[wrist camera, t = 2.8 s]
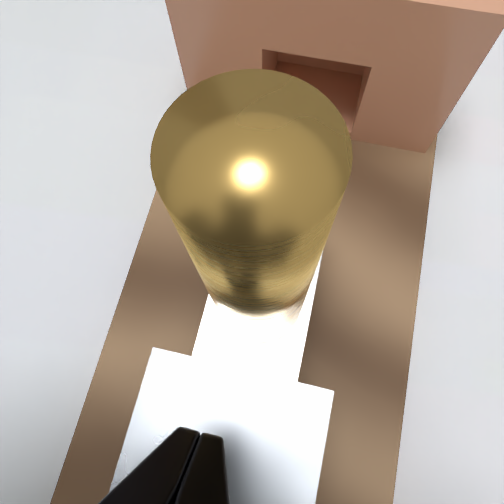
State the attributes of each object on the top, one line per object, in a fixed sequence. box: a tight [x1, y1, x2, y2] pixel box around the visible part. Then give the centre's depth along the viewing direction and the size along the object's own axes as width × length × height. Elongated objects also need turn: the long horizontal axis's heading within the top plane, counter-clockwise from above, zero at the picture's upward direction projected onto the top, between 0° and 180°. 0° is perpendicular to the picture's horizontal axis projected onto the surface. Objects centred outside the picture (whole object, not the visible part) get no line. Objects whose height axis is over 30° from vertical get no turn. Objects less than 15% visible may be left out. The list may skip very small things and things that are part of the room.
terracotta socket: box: [165, 0, 504, 153], centre depth 17 cm, size 5×10×7 cm, turn 77°
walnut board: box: [50, 135, 437, 504], centre depth 17 cm, size 28×11×1 cm, turn 167°
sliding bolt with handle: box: [150, 69, 353, 382], centre depth 9 cm, size 14×3×11 cm, turn 167°
